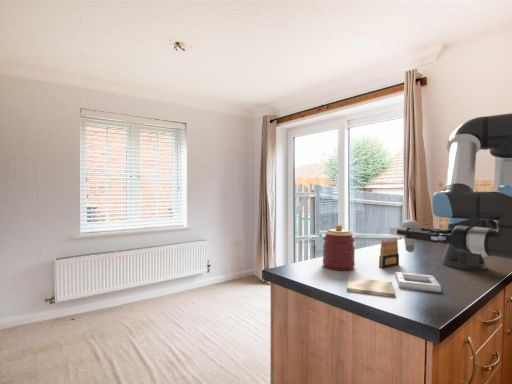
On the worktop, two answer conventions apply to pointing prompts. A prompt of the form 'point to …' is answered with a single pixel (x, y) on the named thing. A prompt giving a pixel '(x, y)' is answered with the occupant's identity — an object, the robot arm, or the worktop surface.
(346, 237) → the canister
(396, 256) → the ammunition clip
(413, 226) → the lightbulb
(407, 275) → the collar holder
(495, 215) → the robot arm
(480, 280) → the worktop surface
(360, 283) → the birch board
